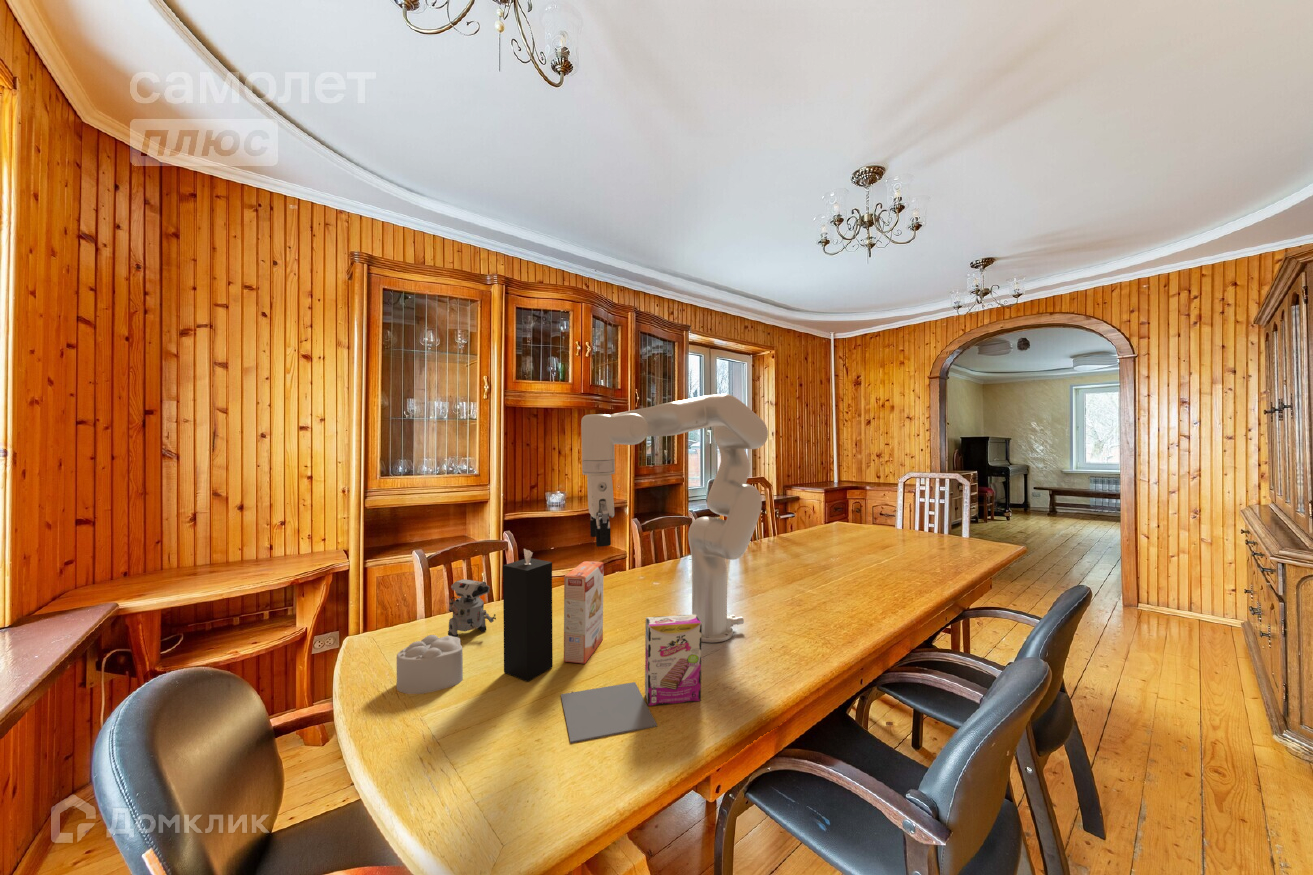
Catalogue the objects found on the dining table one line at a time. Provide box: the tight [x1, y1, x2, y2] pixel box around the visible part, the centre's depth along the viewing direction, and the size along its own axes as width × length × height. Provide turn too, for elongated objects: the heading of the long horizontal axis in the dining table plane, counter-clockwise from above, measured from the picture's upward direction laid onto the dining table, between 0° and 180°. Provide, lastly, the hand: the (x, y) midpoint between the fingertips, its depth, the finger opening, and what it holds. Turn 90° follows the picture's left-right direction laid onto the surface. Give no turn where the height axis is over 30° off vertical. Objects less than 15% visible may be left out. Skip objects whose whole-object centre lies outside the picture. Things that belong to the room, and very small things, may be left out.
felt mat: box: [560, 681, 658, 744], centre depth 95 cm, size 16×16×1 cm
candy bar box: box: [644, 614, 702, 707], centre depth 99 cm, size 11×5×16 cm, turn 100°
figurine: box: [447, 578, 497, 638], centre depth 129 cm, size 9×12×15 cm
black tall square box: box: [502, 548, 554, 682], centre depth 110 cm, size 8×8×28 cm
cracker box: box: [563, 560, 605, 665], centre depth 120 cm, size 14×6×21 cm, turn 168°
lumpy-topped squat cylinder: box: [396, 634, 464, 695], centre depth 106 cm, size 10×13×9 cm
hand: (600, 540), depth 111 cm, fingers open, 9 cm apart
